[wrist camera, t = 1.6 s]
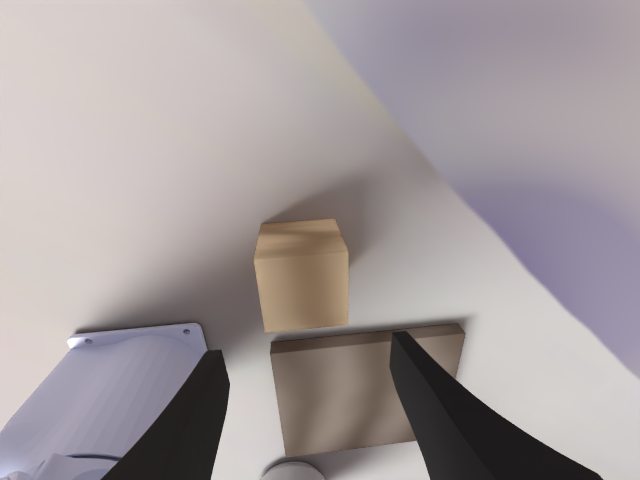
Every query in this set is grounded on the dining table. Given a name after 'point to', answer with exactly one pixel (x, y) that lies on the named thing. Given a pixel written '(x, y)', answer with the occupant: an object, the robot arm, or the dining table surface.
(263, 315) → the oak block
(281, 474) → the can
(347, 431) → the serving board
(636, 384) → the dining table surface
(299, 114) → the dining table surface
